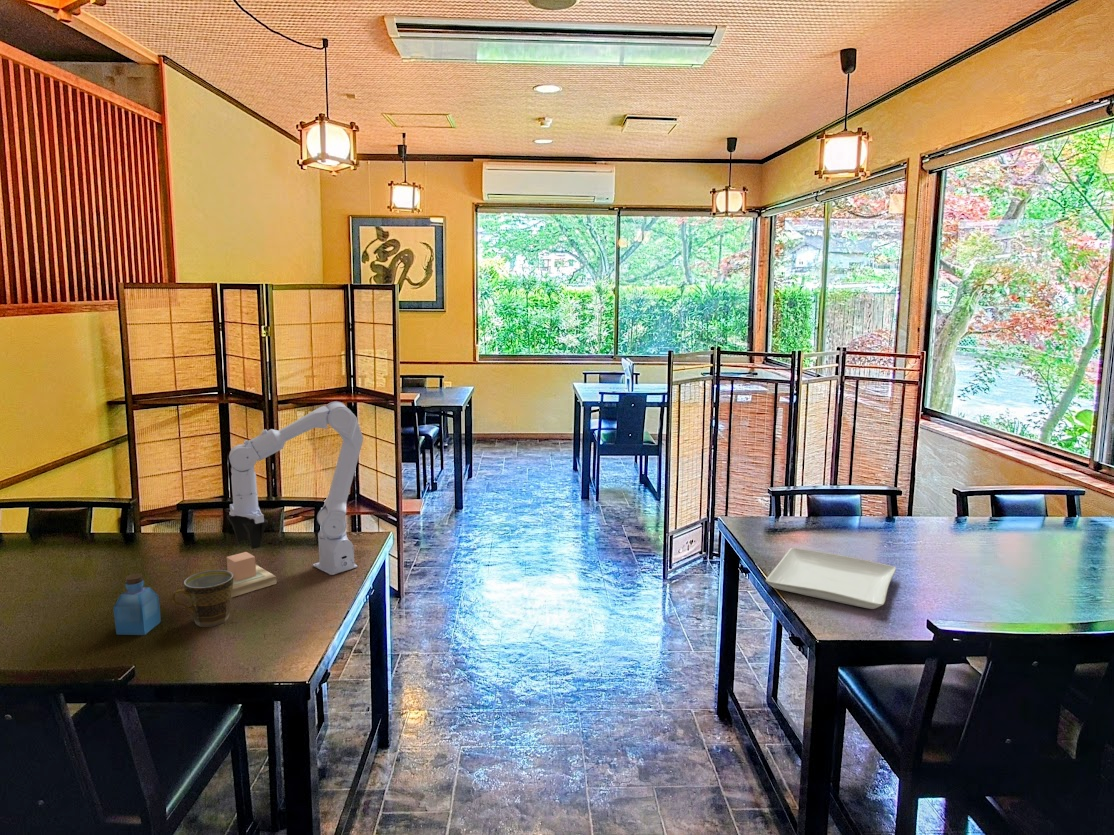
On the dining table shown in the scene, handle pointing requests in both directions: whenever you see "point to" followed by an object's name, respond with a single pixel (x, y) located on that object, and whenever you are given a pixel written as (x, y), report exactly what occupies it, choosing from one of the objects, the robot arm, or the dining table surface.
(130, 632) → the perfume bottle
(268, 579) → the display base
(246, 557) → the terracotta block
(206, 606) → the ceramic cup
